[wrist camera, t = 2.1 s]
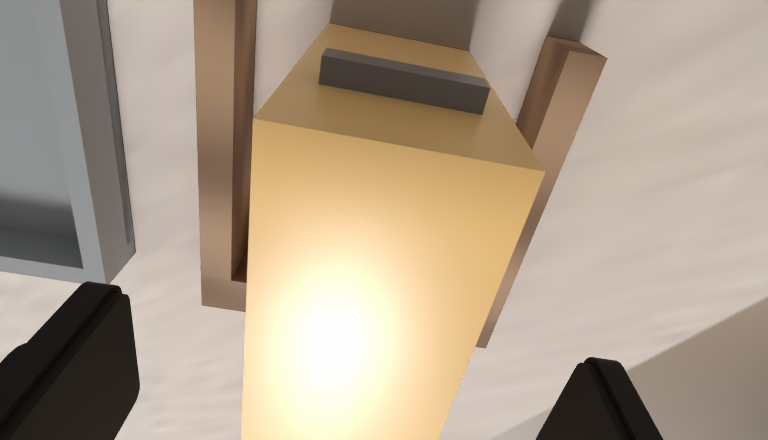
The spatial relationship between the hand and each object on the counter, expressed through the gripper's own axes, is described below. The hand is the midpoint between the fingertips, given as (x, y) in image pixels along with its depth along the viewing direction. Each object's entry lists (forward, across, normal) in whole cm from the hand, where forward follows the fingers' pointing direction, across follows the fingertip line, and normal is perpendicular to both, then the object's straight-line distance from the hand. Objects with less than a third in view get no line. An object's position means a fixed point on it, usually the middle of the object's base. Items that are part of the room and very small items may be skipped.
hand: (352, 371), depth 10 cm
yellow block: (+11, 0, -1) cm, 11 cm away
